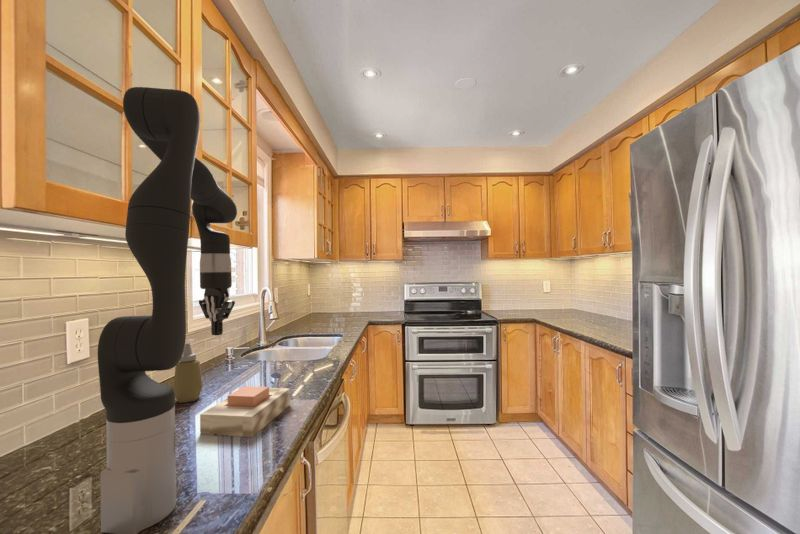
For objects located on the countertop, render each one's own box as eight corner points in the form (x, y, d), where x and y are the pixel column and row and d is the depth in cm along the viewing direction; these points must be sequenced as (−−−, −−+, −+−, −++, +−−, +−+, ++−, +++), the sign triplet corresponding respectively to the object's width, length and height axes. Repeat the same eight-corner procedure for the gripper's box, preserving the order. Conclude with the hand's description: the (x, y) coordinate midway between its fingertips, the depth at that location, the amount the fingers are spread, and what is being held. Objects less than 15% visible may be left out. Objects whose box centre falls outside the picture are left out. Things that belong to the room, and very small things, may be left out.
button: (254, 411, 90) (253, 396, 90) (227, 410, 92) (227, 395, 92) (269, 400, 98) (268, 386, 98) (244, 399, 99) (244, 386, 99)
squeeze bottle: (189, 405, 105) (188, 346, 105) (166, 403, 106) (166, 345, 107) (208, 395, 113) (208, 341, 113) (187, 394, 114) (187, 340, 115)
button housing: (252, 437, 84) (251, 416, 84) (200, 434, 86) (200, 414, 86) (289, 405, 104) (289, 388, 104) (247, 403, 106) (246, 387, 106)
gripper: (244, 270, 93) (245, 334, 93) (214, 270, 99) (215, 330, 99) (217, 270, 86) (218, 339, 86) (187, 271, 93) (188, 335, 93)
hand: (217, 334), depth 93 cm, fingers closed
